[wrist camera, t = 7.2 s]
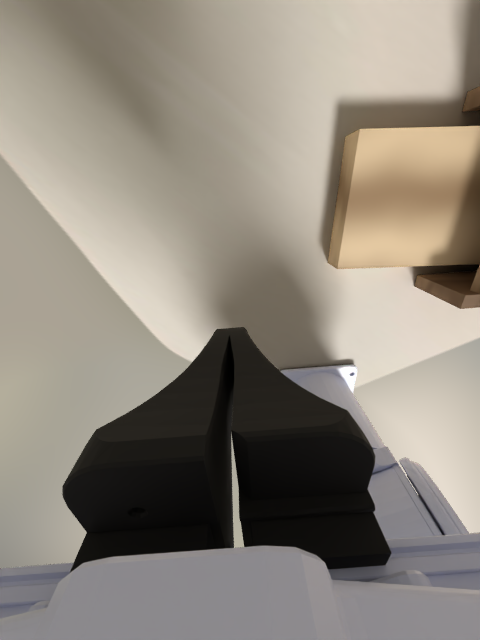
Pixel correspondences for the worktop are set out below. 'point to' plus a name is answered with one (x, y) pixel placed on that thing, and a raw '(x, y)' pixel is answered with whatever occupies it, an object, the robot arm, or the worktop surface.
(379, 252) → the board
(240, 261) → the worktop surface
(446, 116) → the worktop surface
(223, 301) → the worktop surface
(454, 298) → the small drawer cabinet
